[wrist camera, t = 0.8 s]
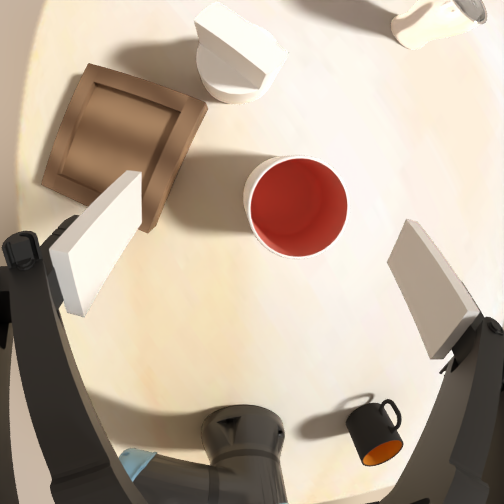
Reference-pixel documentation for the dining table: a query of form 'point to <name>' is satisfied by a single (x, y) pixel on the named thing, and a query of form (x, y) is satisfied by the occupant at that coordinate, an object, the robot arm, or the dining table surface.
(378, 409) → the mug
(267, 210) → the cup
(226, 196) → the dining table surface
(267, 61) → the cylinder with rectangular tab
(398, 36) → the beer glass
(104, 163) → the walnut base
